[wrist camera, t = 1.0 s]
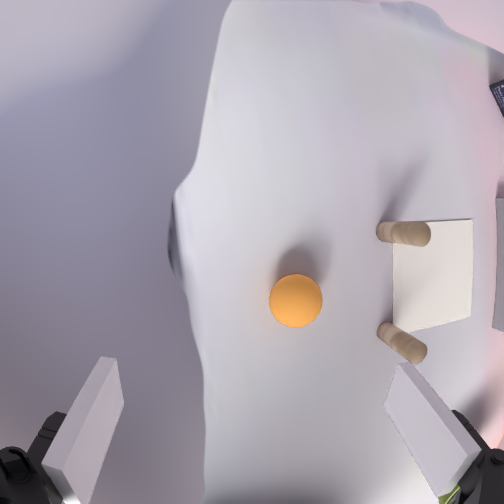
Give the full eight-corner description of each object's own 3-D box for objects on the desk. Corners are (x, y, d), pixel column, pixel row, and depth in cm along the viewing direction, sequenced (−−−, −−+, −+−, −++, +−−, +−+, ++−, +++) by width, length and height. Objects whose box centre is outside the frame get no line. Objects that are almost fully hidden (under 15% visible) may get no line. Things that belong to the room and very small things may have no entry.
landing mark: (469, 316, 39) (470, 316, 39) (391, 335, 38) (392, 336, 37) (471, 219, 37) (472, 219, 37) (391, 224, 36) (392, 224, 36)
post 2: (393, 338, 38) (426, 361, 30) (376, 341, 38) (407, 366, 30) (393, 320, 37) (428, 340, 30) (377, 323, 37) (409, 345, 29)
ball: (315, 315, 36) (329, 330, 31) (267, 321, 36) (275, 337, 31) (313, 268, 36) (328, 276, 30) (264, 273, 36) (271, 282, 30)
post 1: (393, 240, 37) (431, 245, 29) (376, 242, 36) (412, 247, 28) (392, 220, 36) (430, 221, 28) (375, 222, 36) (411, 222, 28)
